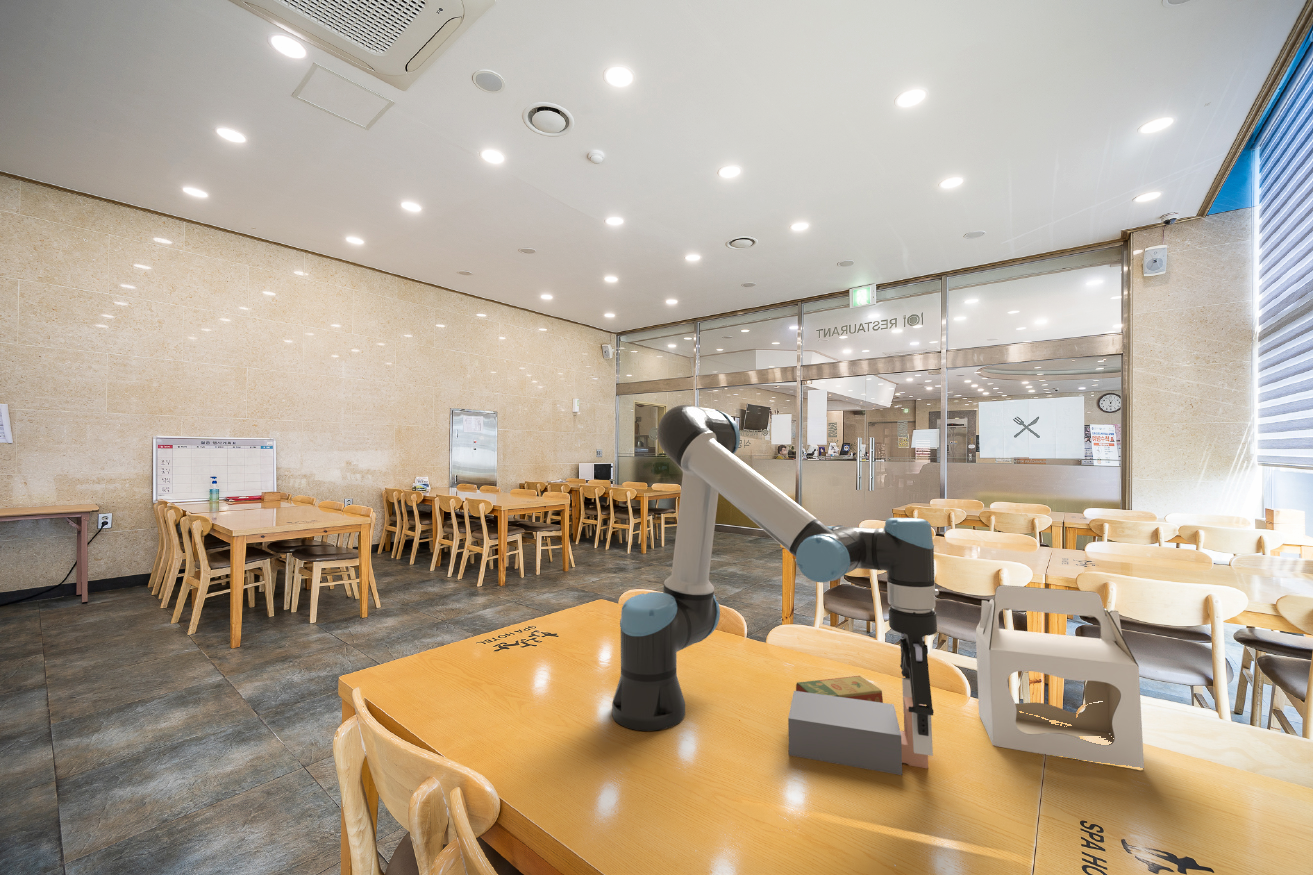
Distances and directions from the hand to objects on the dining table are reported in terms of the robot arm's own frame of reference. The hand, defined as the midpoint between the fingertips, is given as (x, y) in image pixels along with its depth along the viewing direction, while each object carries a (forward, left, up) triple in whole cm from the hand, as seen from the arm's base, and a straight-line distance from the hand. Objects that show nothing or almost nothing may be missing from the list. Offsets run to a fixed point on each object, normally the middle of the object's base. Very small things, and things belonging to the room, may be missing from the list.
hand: (917, 733), depth 90 cm
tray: (-9, 0, -5) cm, 11 cm away
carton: (-13, +20, -6) cm, 24 cm away
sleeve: (-12, 0, -5) cm, 13 cm away
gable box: (+25, +17, -5) cm, 31 cm away
